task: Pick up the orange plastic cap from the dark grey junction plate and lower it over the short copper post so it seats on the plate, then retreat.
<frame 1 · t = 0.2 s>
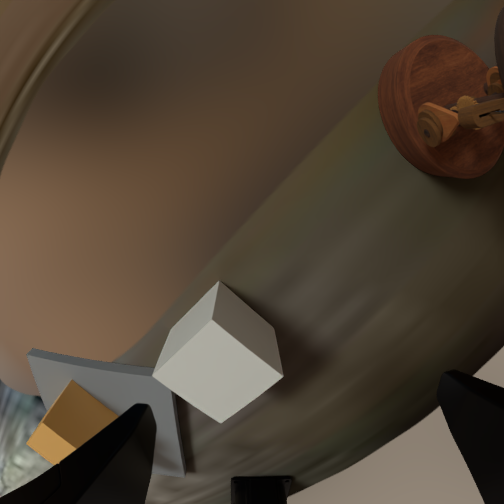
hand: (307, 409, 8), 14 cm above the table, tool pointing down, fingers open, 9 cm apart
grey cap: (221, 329, 23), on the table
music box: (440, 105, 19), on the table
junction plate: (109, 418, 25), on the table
orange cap: (83, 411, 23), point 1 cm above the table, touching junction plate
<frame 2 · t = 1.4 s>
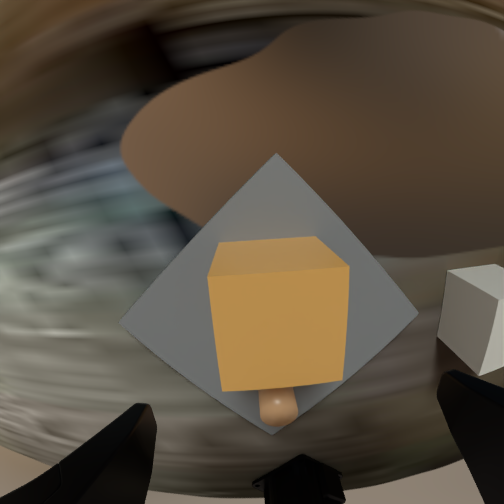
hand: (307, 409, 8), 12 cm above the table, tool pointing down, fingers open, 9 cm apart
grey cap: (467, 299, 20), on the table
junction plate: (273, 315, 20), on the table
orange cap: (270, 285, 18), point 1 cm above the table, touching junction plate
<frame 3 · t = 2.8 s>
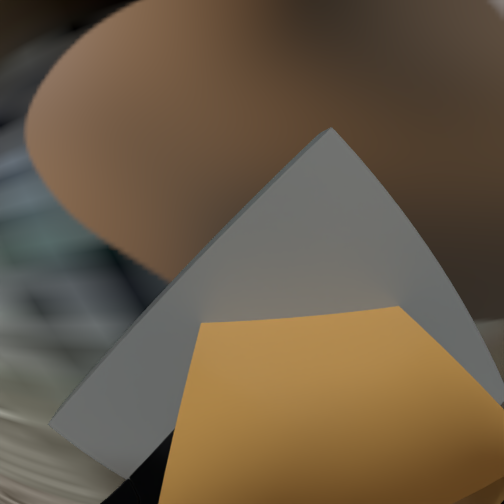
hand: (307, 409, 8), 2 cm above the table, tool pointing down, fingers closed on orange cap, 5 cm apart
junction plate: (301, 424, 10), on the table
orange cap: (303, 395, 9), point 1 cm above the table, touching gripper, junction plate
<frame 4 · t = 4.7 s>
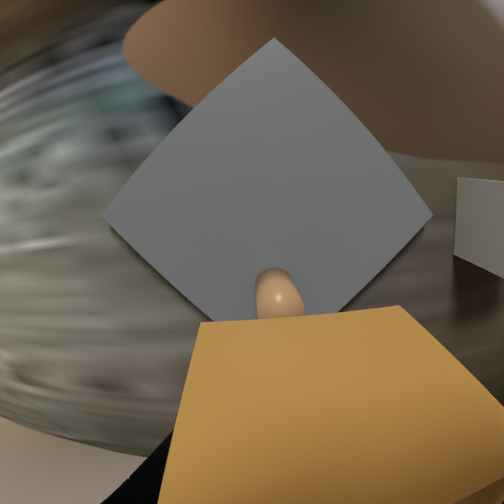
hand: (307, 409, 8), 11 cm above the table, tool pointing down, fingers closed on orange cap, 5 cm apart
grey cap: (481, 216, 19), on the table
junction plate: (273, 208, 18), on the table
orange cap: (303, 395, 9), point 11 cm above the table, touching gripper
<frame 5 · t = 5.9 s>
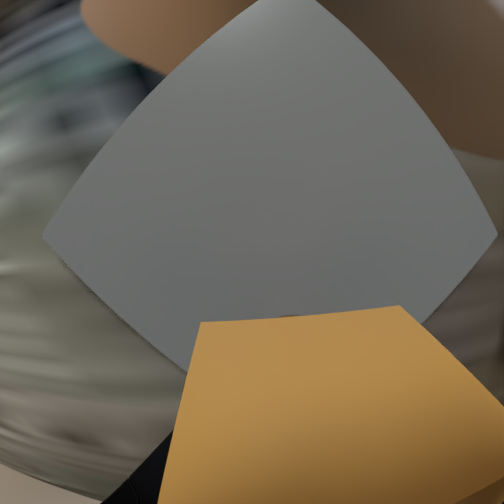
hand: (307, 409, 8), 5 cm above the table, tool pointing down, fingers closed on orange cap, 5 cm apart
junction plate: (288, 225, 12), on the table
orange cap: (303, 395, 9), point 5 cm above the table, touching gripper
when the fingers open (3 cm above the table, at t = 6.9 s): orange cap drops 1 cm, resting on junction plate.
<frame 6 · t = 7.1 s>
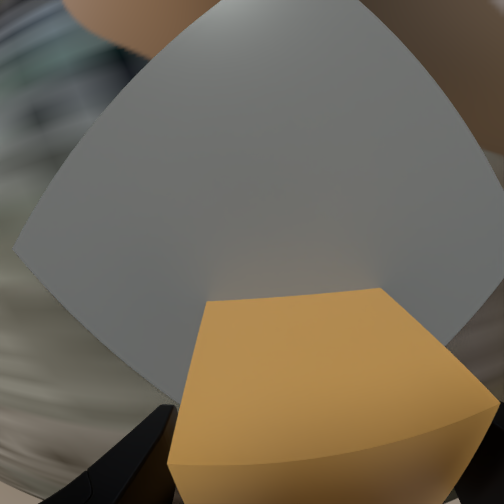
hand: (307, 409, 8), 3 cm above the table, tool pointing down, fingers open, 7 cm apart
junction plate: (297, 236, 10), on the table
orange cap: (297, 369, 10), point 1 cm above the table, touching junction plate
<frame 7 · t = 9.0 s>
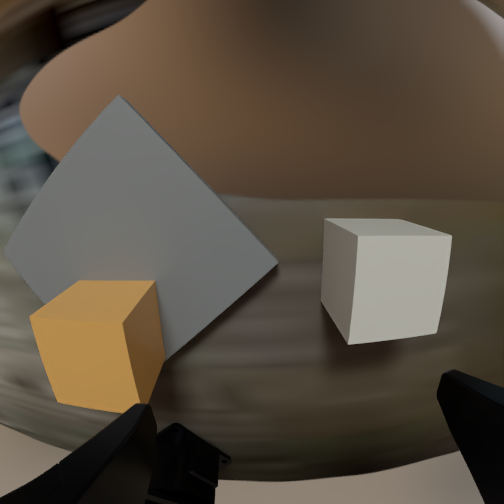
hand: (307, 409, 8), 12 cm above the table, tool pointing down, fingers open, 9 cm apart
grey cap: (361, 259, 20), on the table
junction plate: (121, 252, 19), on the table
orange cap: (121, 319, 19), point 1 cm above the table, touching junction plate
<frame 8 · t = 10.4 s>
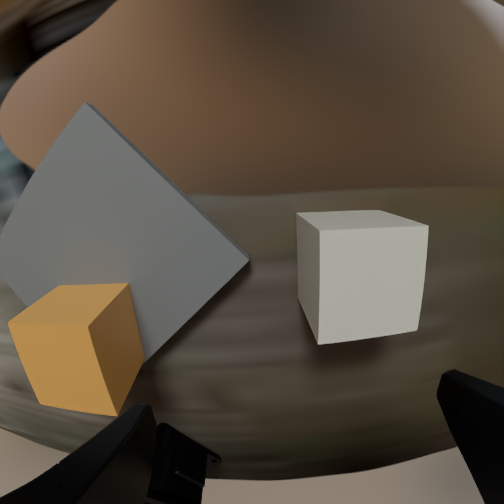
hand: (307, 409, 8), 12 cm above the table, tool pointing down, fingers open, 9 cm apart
grey cap: (339, 254, 20), on the table
junction plate: (97, 256, 19), on the table
orange cap: (100, 322, 19), point 1 cm above the table, touching junction plate
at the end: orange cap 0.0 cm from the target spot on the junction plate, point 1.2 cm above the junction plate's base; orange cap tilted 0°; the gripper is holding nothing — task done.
